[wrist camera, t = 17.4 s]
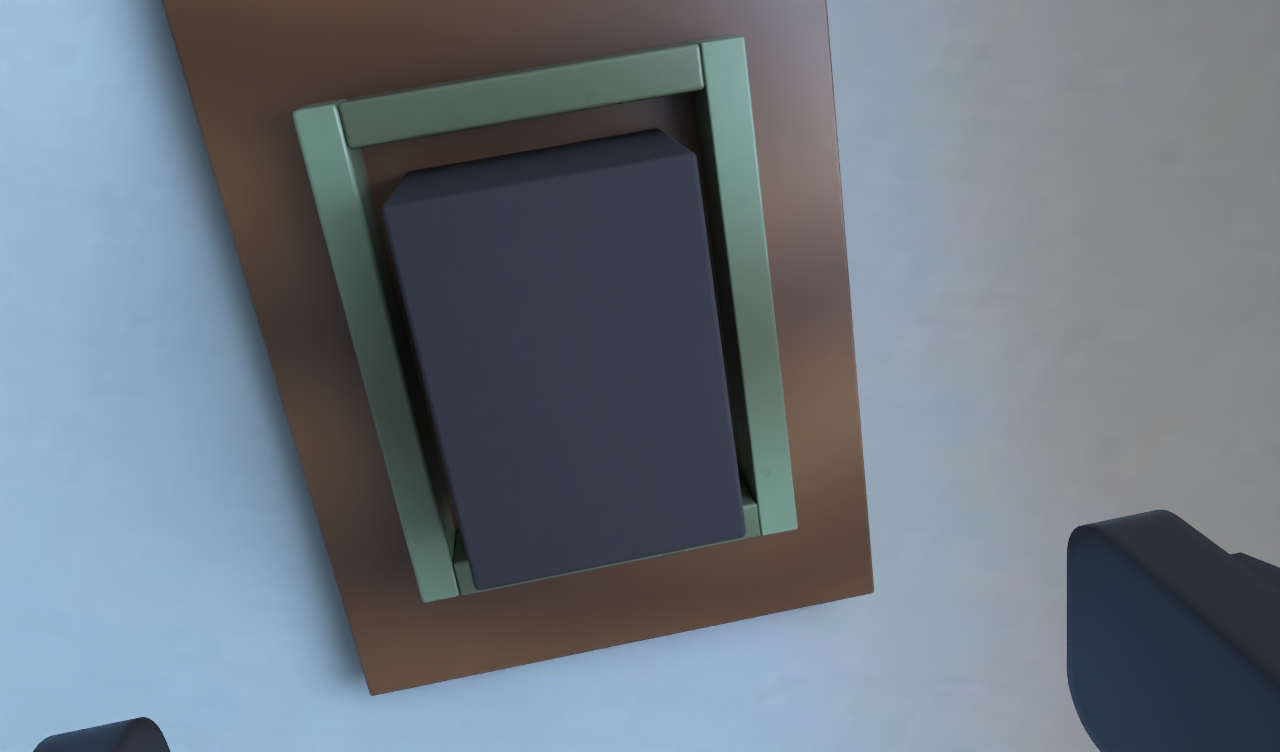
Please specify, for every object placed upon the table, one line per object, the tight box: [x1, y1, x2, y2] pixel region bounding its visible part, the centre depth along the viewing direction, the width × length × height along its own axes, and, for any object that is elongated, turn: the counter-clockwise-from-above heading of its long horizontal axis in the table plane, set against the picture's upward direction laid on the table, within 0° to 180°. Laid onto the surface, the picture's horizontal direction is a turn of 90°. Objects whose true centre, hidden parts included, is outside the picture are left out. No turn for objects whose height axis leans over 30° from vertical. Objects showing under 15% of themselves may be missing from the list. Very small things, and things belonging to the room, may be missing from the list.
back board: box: [161, 0, 874, 696], centre depth 20 cm, size 16×12×2 cm
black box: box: [382, 129, 746, 590], centre depth 19 cm, size 7×5×4 cm
